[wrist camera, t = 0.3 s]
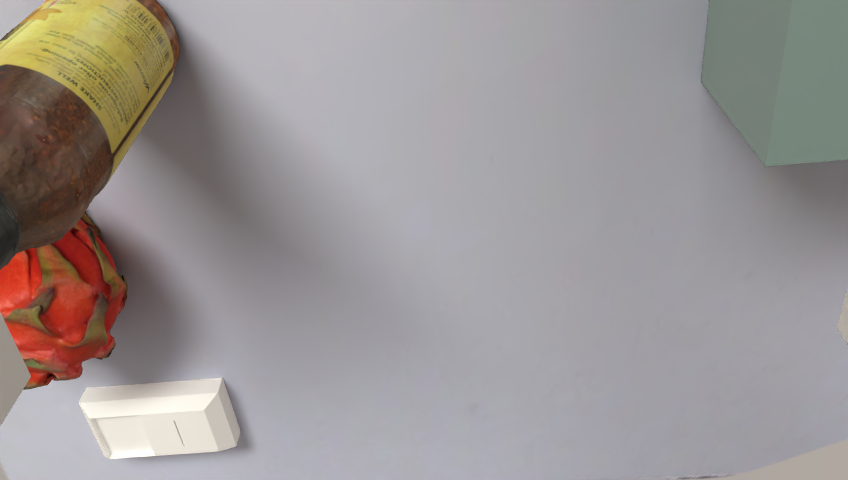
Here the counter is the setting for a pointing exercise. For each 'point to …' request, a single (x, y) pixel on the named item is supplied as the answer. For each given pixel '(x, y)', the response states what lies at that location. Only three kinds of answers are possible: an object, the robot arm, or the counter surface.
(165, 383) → the soap bar
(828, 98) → the sage green cube
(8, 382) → the robot arm
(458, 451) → the counter surface
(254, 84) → the counter surface
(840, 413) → the counter surface
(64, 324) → the dragon fruit
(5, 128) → the sauce bottle
